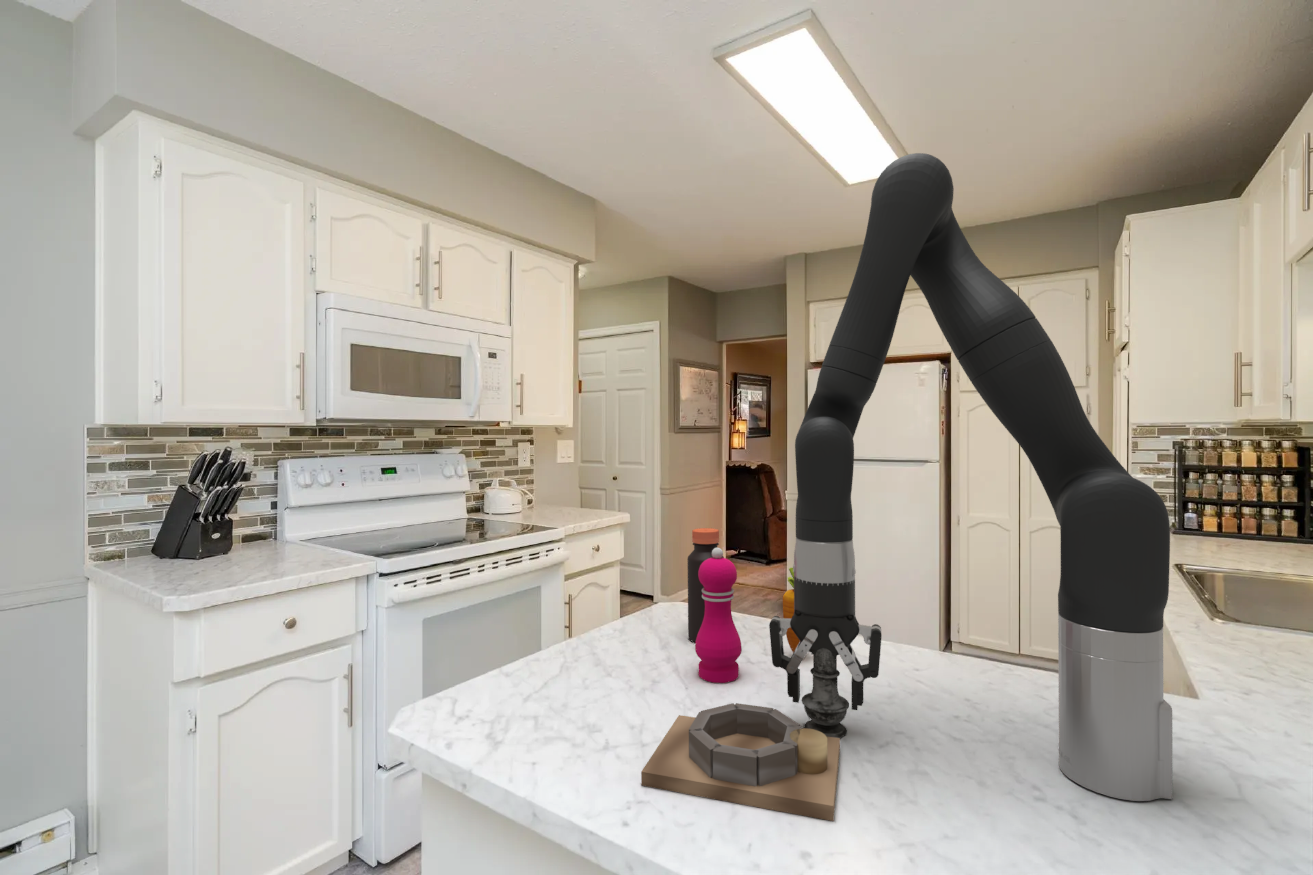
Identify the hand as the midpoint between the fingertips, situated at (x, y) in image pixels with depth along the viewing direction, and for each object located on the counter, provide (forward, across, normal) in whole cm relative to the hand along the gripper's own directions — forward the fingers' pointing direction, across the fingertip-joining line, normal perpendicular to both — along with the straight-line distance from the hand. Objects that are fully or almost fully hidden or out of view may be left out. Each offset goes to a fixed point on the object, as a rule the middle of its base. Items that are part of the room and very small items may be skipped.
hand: (824, 703), depth 79 cm
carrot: (+4, +6, -24) cm, 25 cm away
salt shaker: (+4, 0, 0) cm, 4 cm away
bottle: (+4, +23, -29) cm, 37 cm away
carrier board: (+3, +8, +12) cm, 15 cm away
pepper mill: (+4, +17, -13) cm, 22 cm away
